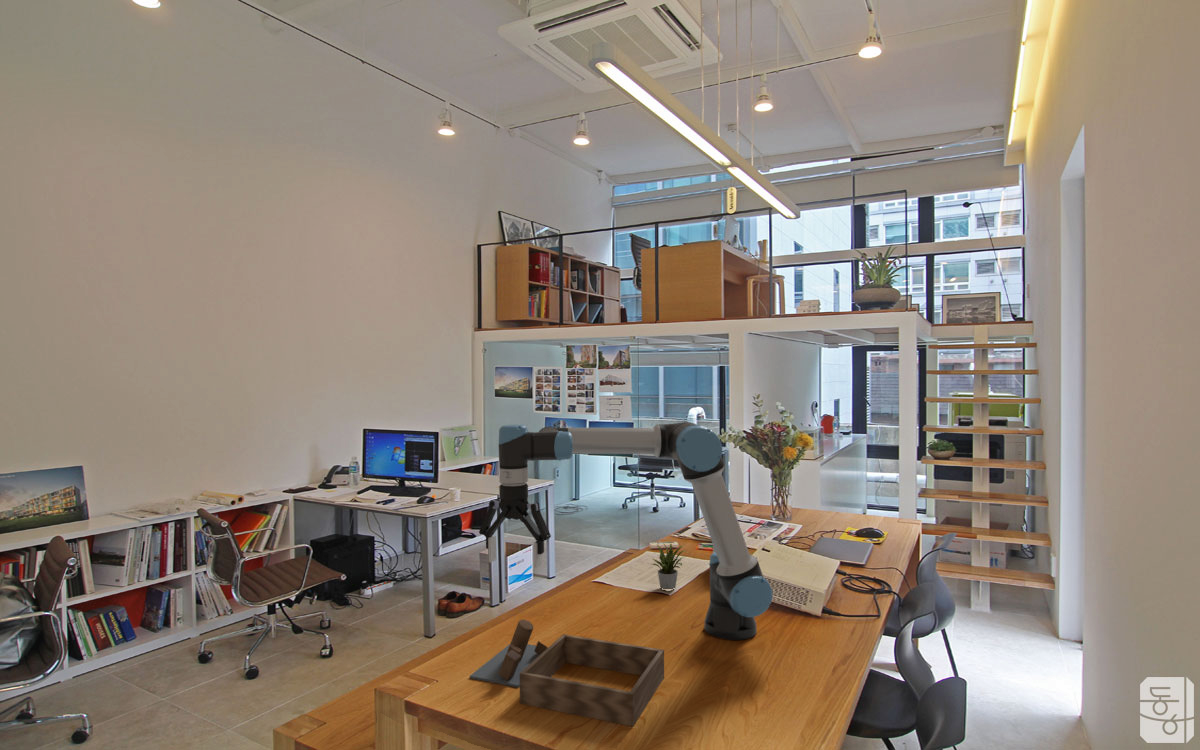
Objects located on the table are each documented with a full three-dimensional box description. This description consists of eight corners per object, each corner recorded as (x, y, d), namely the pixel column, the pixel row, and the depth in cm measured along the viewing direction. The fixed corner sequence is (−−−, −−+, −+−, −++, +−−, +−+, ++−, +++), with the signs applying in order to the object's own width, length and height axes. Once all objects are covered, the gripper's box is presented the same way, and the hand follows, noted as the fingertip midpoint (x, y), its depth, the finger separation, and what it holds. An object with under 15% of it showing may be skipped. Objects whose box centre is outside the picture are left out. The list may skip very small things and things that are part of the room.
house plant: (698, 586, 232) (698, 541, 232) (681, 598, 220) (681, 550, 220) (662, 580, 240) (662, 535, 239) (644, 591, 228) (644, 544, 228)
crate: (664, 677, 164) (663, 649, 164) (633, 726, 142) (632, 694, 142) (563, 660, 174) (563, 634, 174) (519, 703, 152) (519, 673, 152)
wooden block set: (511, 690, 162) (524, 656, 160) (484, 671, 165) (496, 637, 163) (546, 658, 178) (558, 626, 176) (521, 641, 181) (532, 609, 179)
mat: (557, 651, 180) (557, 649, 180) (518, 687, 160) (518, 685, 160) (512, 643, 185) (512, 641, 185) (469, 678, 165) (469, 675, 165)
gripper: (465, 483, 173) (466, 562, 174) (549, 488, 164) (550, 572, 164) (480, 478, 180) (481, 555, 180) (562, 483, 171) (563, 564, 171)
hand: (514, 563), depth 172 cm, fingers open, 13 cm apart
